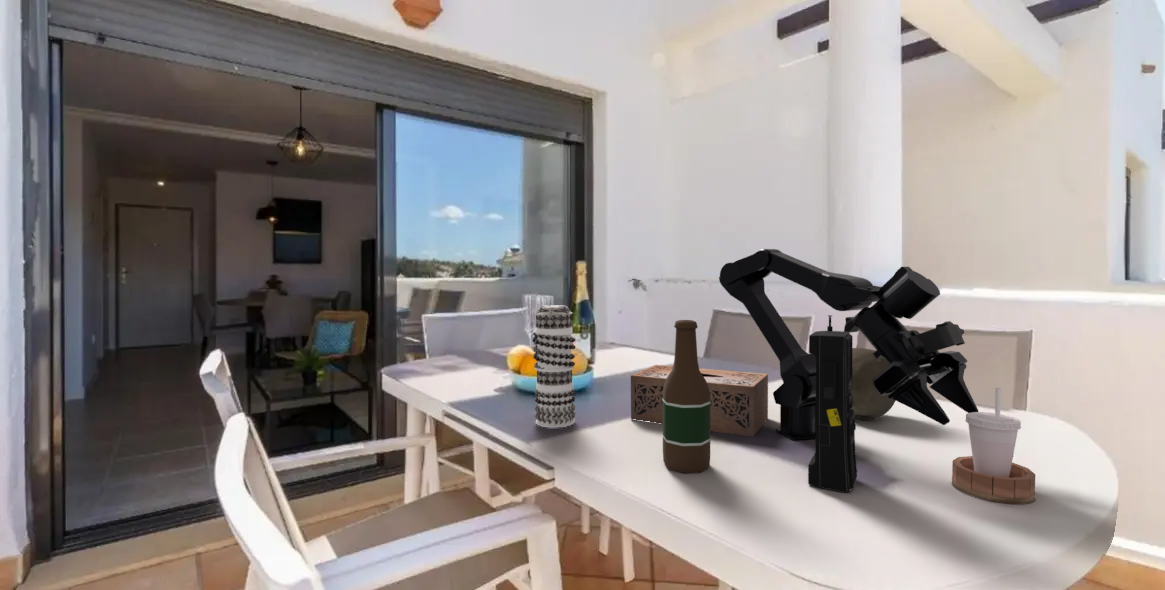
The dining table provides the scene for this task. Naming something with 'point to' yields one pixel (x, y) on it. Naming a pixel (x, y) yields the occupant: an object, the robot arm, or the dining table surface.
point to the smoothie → (993, 440)
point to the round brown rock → (867, 385)
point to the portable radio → (833, 412)
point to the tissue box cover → (731, 398)
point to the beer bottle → (686, 407)
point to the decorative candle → (554, 367)
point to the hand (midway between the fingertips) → (961, 418)
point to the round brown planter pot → (994, 483)
